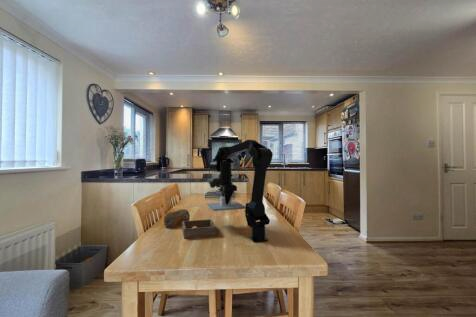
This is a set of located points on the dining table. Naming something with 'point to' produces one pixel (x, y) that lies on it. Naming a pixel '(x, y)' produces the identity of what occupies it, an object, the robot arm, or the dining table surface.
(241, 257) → the dining table surface
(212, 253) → the dining table surface
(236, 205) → the lid
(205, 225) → the box
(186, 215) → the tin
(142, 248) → the dining table surface
